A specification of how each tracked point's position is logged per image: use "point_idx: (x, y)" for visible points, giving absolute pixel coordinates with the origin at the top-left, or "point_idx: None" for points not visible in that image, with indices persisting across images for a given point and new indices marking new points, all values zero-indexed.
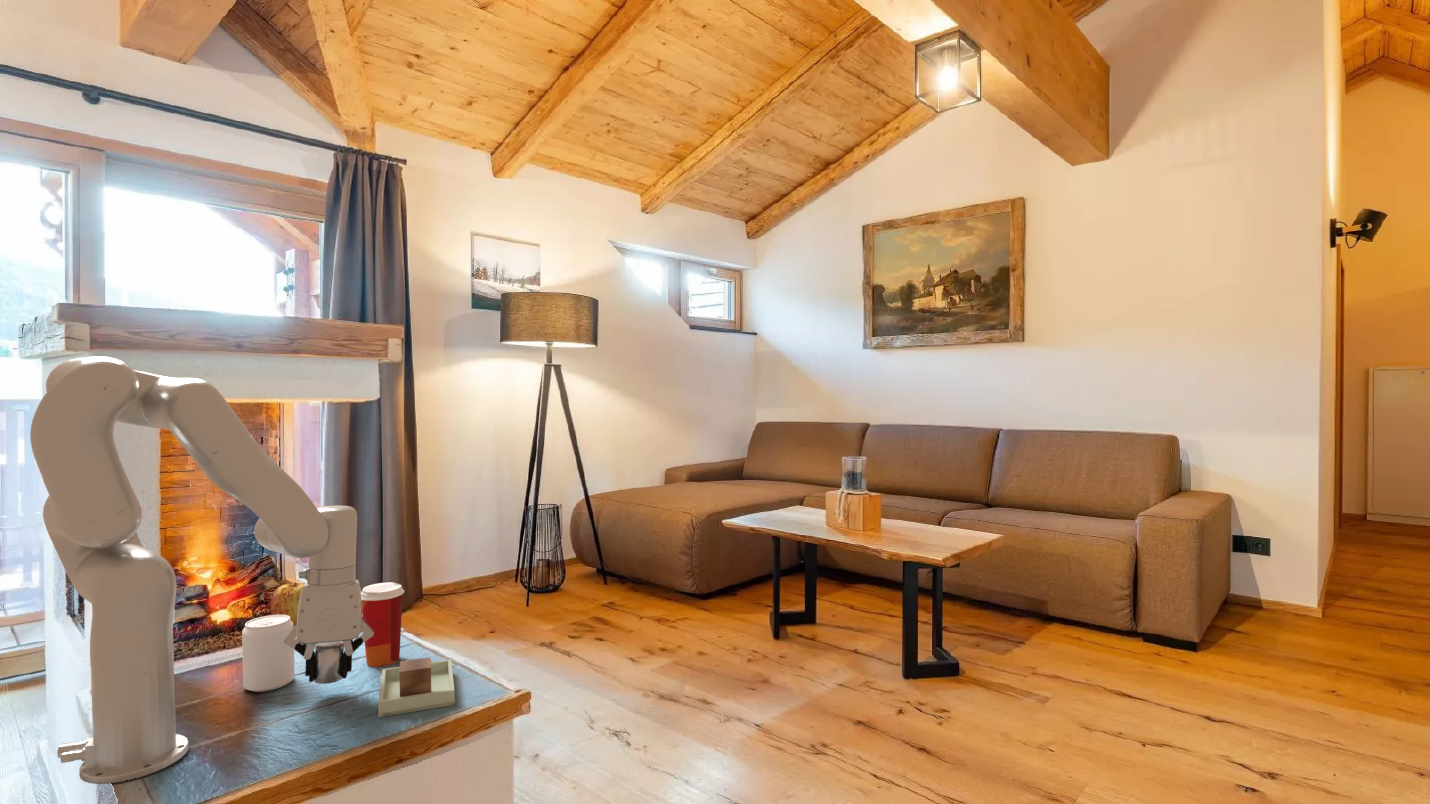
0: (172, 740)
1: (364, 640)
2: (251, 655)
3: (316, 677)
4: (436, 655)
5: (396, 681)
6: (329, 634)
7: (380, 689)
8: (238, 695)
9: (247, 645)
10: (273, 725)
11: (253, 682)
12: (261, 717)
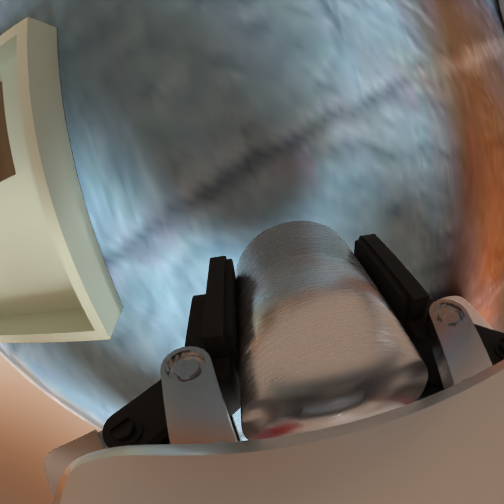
0: None
1: (98, 437)
2: None
3: (350, 250)
4: (81, 410)
5: (71, 289)
6: (405, 500)
7: (33, 131)
8: (473, 288)
9: None
10: (401, 50)
11: (471, 308)
12: (442, 129)
